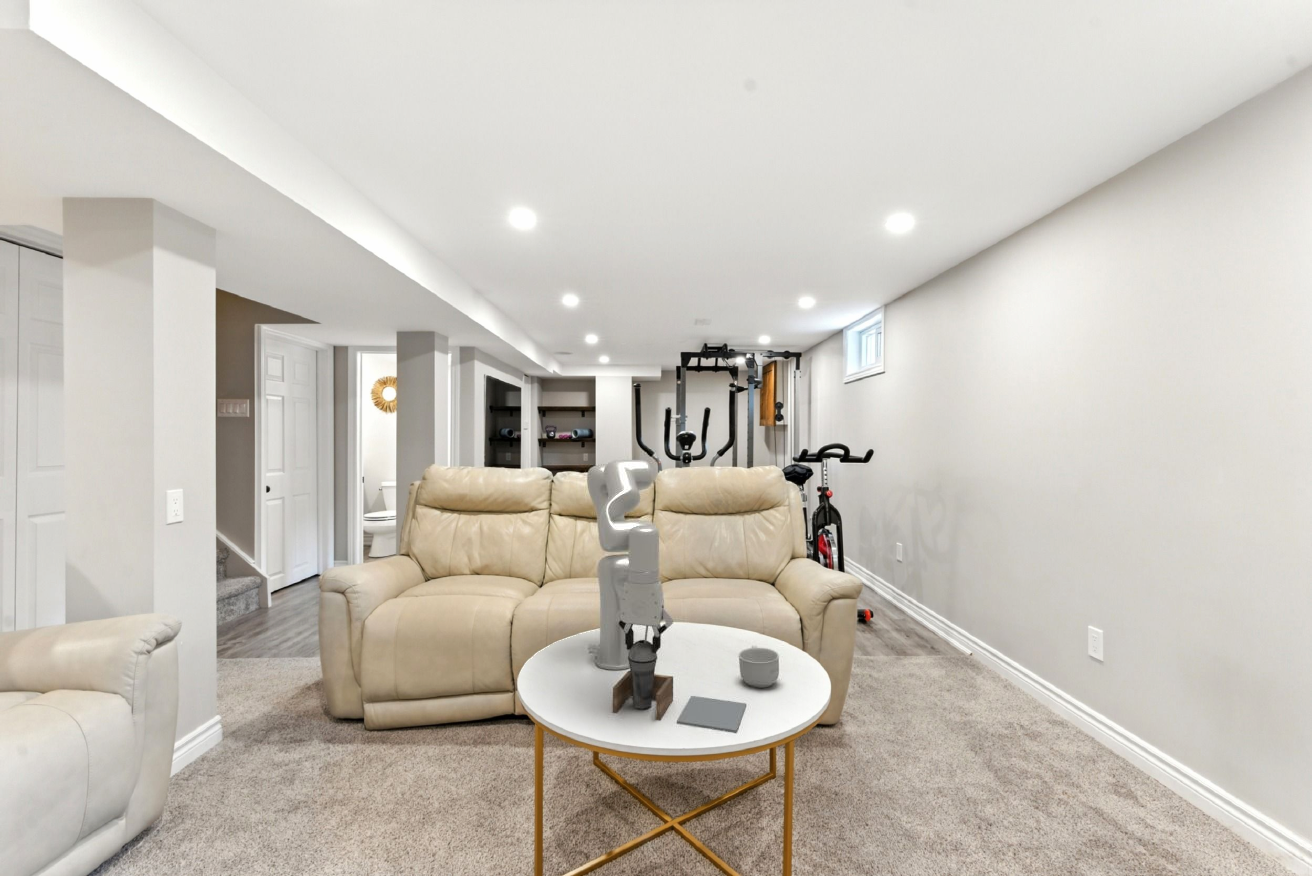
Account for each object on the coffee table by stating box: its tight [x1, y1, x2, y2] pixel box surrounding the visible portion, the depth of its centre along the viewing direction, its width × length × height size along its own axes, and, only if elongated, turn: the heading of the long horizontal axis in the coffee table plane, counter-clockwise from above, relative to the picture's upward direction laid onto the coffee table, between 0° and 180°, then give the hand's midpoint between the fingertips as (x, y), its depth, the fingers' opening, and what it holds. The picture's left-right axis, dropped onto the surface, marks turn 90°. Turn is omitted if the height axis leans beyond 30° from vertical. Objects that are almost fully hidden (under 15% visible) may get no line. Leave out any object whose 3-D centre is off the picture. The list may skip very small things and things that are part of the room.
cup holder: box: [612, 670, 674, 721], centre depth 140 cm, size 12×11×6 cm
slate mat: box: [676, 695, 747, 733], centre depth 136 cm, size 14×14×1 cm
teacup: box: [738, 645, 780, 689], centre depth 156 cm, size 14×11×8 cm
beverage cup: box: [628, 626, 658, 709], centre depth 140 cm, size 7×7×20 cm
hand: (642, 648), depth 140 cm, fingers closed on beverage cup, 6 cm apart
